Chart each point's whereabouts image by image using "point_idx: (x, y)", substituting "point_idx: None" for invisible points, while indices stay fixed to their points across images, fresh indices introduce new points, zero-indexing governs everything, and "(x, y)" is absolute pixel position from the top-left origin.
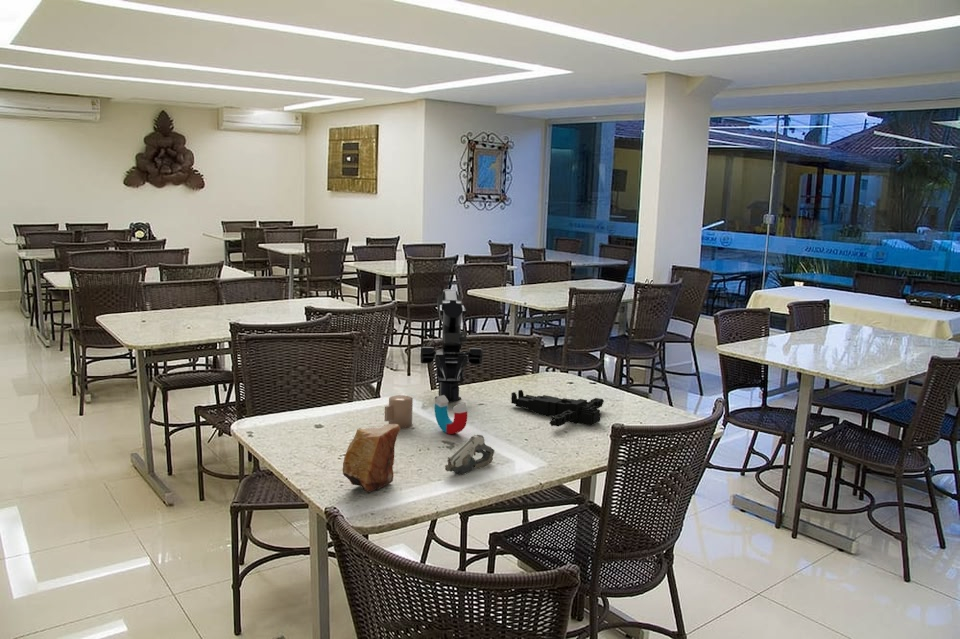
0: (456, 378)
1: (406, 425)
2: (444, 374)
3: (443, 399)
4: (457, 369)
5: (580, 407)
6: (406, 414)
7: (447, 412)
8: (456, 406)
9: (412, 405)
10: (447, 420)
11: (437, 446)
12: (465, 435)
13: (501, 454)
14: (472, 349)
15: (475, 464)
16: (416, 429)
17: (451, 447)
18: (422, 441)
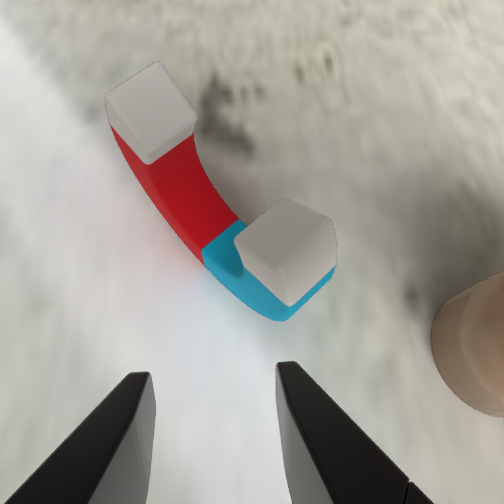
0: (132, 373)
1: (453, 297)
2: (329, 397)
3: (276, 223)
4: (61, 496)
5: None
6: (489, 278)
7: (240, 277)
8: (174, 83)
9: (497, 334)
10: (237, 253)
11: (267, 96)
12: (147, 223)
13: (22, 45)
14: None
15: None
16: (392, 280)
17: (211, 91)
18: (334, 139)
